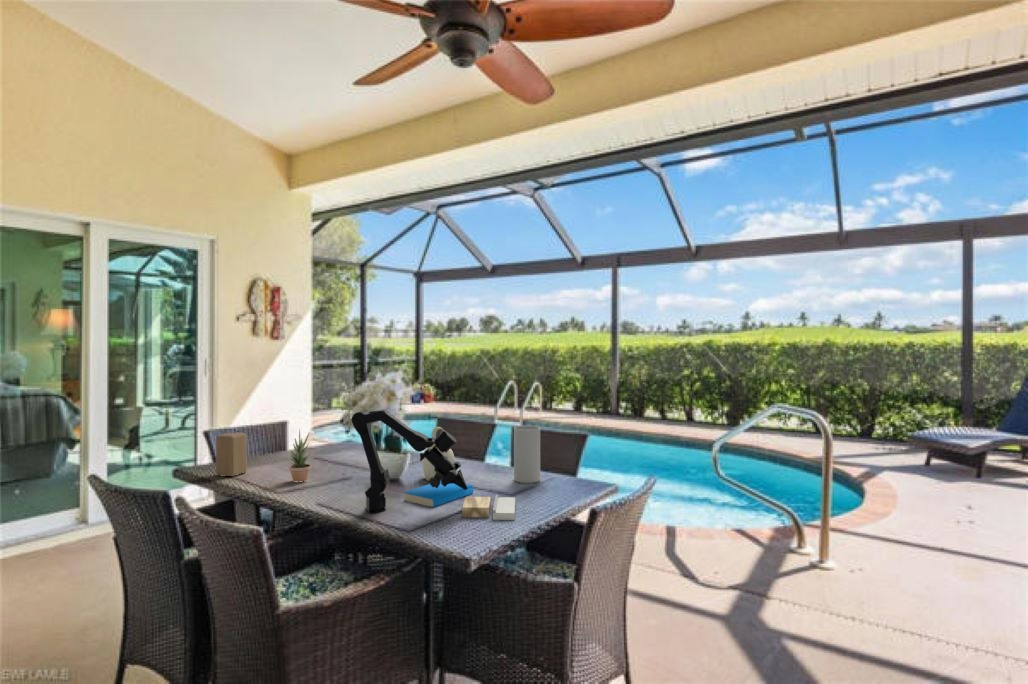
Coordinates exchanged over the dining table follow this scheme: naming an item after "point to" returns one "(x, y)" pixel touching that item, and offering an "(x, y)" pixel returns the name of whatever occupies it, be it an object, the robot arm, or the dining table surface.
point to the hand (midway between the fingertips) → (466, 489)
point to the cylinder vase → (527, 454)
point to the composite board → (504, 508)
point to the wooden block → (231, 454)
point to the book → (436, 494)
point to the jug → (427, 466)
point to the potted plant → (299, 461)
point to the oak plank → (476, 507)
